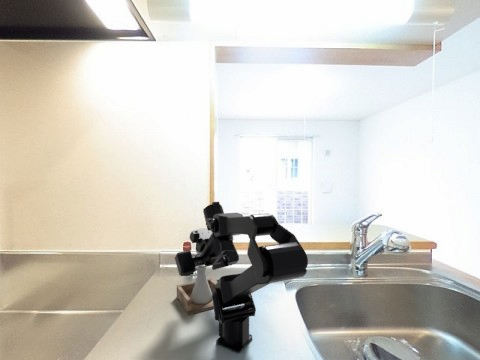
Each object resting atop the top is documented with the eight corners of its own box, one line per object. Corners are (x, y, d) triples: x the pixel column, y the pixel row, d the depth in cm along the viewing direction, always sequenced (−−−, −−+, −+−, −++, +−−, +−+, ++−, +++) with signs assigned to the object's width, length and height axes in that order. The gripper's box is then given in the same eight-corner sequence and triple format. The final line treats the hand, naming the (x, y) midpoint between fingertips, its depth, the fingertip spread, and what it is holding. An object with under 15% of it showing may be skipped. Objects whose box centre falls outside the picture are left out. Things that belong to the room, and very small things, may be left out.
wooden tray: (227, 304, 78) (227, 292, 78) (188, 314, 73) (188, 302, 72) (211, 288, 89) (211, 278, 89) (176, 296, 83) (176, 285, 83)
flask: (185, 302, 78) (185, 270, 78) (195, 292, 85) (195, 261, 85) (207, 306, 76) (207, 272, 76) (216, 295, 83) (216, 264, 83)
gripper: (234, 218, 82) (216, 244, 91) (176, 224, 71) (164, 254, 81) (248, 249, 75) (228, 274, 85) (188, 261, 65) (173, 288, 74)
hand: (199, 271), depth 81 cm, fingers open, 9 cm apart
